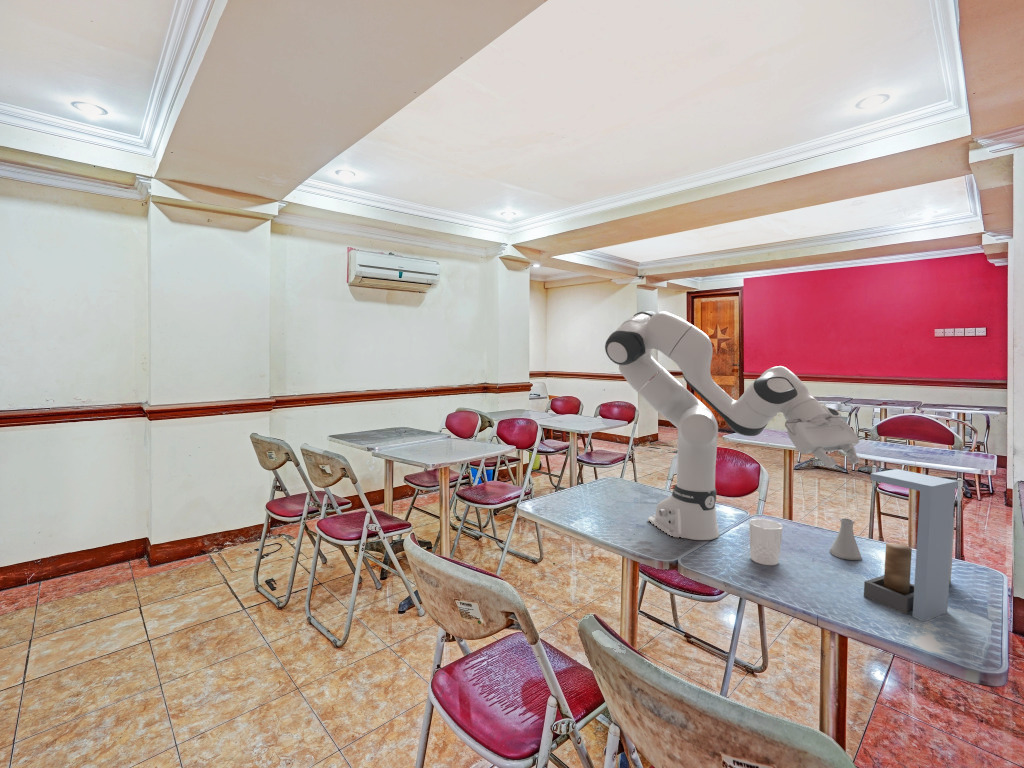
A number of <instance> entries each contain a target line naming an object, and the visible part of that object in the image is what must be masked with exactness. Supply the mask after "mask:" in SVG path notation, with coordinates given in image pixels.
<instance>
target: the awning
mask: <svg viewBox="0 0 1024 768" xmlns="http://www.w3.org/2000/svg"><path fill="white" fill-rule="evenodd" d="M870 481H874V482H879V483H882V484H887V485H891V486H897V487H901V488H904V489H905V488H906V489H908V490H914V491H918V492H919V499H918V500H919V501H918V502H919V504H918V505H919V506H918V516H917V517H918V519H917V520H918V522H917V534H916V535H917V538H916V551H915V552H916V554H915V566H914V567H915V572H914V600H913V612H912V617H913V618H915V619H917V620H919V621H922V622H926V621H929V620H931V619H933V618H935V617H938V616H941V615H943V614H946V613H948V606H949V605H948V604H949V591H950V584H949V578H950V562H951V547H952V531H953V516H954V513H955V512H954V503H955V501H956V500H955V498H956V497H955V496H956V489H958V488H959V480H954V479H950V478H945V477H940V476H933V475H929V474H924V473H919V472H914V471H909V470H903V469H898V468H895V469H894V468H893V469H890V470H883V471H878V472H877V471H876V472H872V473H870Z"/></svg>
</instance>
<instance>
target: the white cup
mask: <svg viewBox="0 0 1024 768" xmlns="http://www.w3.org/2000/svg"><path fill="white" fill-rule="evenodd" d="M748 525H749V527H748V530H749V531H748V532H749V549H750V550H749V551H750V554H749V555H750V560H752V562H755V563H757V564H759V565H764V566H776V565H778V564H779V562H780V561H779V560H780V554H781V547H782V546H781V545H782V539H783V536H782V535H783V528H784V526H783V524H782V523H780V522H778V521H775V520H771V519H765V518H754V519H753V518H752V519H750V520H749V523H748Z"/></svg>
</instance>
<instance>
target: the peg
mask: <svg viewBox="0 0 1024 768" xmlns="http://www.w3.org/2000/svg"><path fill="white" fill-rule="evenodd" d="M912 553H913V549H912V547H910V546H908V545H905V544H902V543H896V542H887V543H885V556H884V557H885V559H884V571H883V572H884V574H883V575H884V587H885V588H887V589H890V590H892V591H895V592H897V593H900V594H902V595H908V594H909V589H910V583H911V570H912V569H911V568H912V567H911V566H912V555H913V554H912Z"/></svg>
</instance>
